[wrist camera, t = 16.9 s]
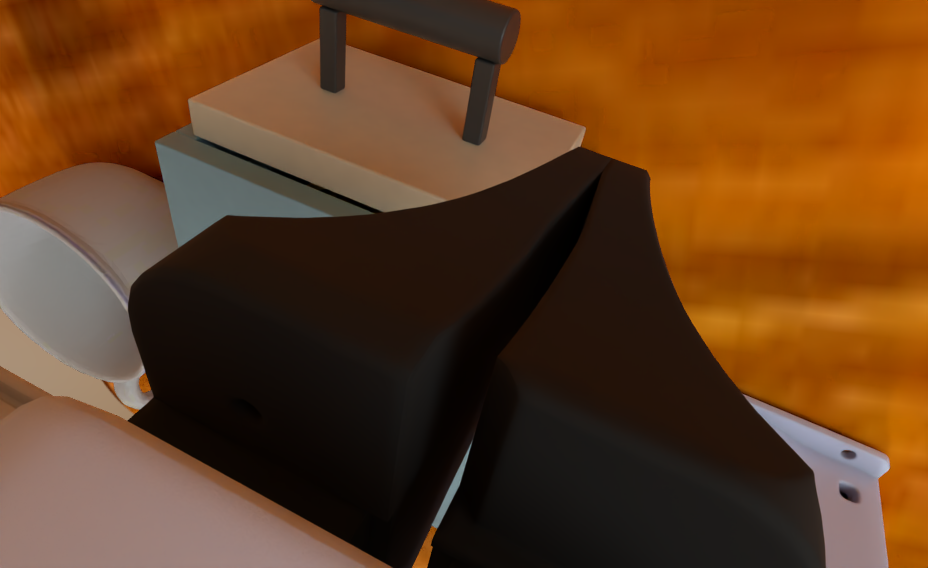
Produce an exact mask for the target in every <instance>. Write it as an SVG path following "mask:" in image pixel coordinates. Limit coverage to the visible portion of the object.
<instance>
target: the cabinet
mask: <svg viewBox="0 0 928 568" xmlns="http://www.w3.org/2000/svg"><path fill="white" fill-rule="evenodd" d="M155 146H156V150H157V155H158V159H159V164H160V168H161V173H162V177H163V181H164V186H165V190H166V195H167V199H168V204H169V208H170V213H171V217H172V222H173V226H174V231H175V235H176V240H177V244H178V248H179V247H181V246H182V245H183V244H185V243H186V242H188V241H189V240H191V239H192V238H194V237H195V236H196V235H198V234H199V233H201V232H202V231H204V230H205V229H207V228H208V227H209V226H211V225H212V224H214V223H215V222H217V221H218V220H220V219H221V218H223V217H225V216H226V215H235V216H258V217H292V218H313V217H339V216H354V215H366V214H375V213H372V212H370V211H367V210H365V209H362V208H360V207H358V206H355V205H353V204H350V203H348V202H345V201H343V200H341V199H338V198H336V197H333V196H331V195H328V194H326V193H323V192H321V191H319V190H316V189H314V188H311V187H309V186H306V185H304V184H301V183H299V182H297V181H294V180H292V179H289V178H287V177H284V176H282V175H280V174H277V173H275V172H272V171H270V170H267V169H265V168H262V167H260V166H258V165H255V164H253V163H250V162H249V161H250V160H252V158H249V157H247V156H244V155H242V154H239V153H237V152H234V151H232V150H229V149H227V148H225V147H222V146H220V145H217V144H215V143H212V142H210V141H207V140H205V139H202V138H200V137H198V136H195V135H194V133H193V128H192V123H191V124H189V125H187V126H185V127H183V128H181V129H179V130H177V131H176V132H172V133H170V134H168V135H166V136H164V137H162V138H160V139H158V140H156V141H155ZM472 441H473V440H472ZM471 444H472V443H471ZM470 448H471V445H470V447H469V449H468V451H467V453H466V455H465V457H464V459H463V461H462V463H461V465H460V467H459V469H458V471H457V473H456V476H455V478H454V480H453V482H452V484H451V486H450V488H449V490H448V492H447V494H446V496H445V498H444V501H443V503H442V505H441V507H440V509H439V511H438V513H437V515H436V517H435V520H434V522H433V524H432V526H434V527H436V528H438V526H439V524H440V522H441V521H442V519H443V517H444V515H445V513H446V511H447V509H448V507H449V505H450V503H451V501H452V499H453V497H454V495H455V493H456V491H457V489H458V487H459V485H460V482H461V478H462V475H463V471H464V468H465V465H466V461H467V458H468V454H469V451H470Z"/></svg>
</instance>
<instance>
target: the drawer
mask: <svg viewBox="0 0 928 568" xmlns="http://www.w3.org/2000/svg"><path fill="white" fill-rule="evenodd" d="M311 1H313V2H314V3H316V4H319V5H322V7H320V9H319V10H320V38H319V39H317V40H315V41H313V42H311V43H308V44H306V45H304V46H302V47H300V48H298V49H295V50H293V51H291V52H289V53H287V54H285V55H282V56H280V57H278V58H276V59H274V60H272V61H269V62H267V63H265V64H263V65H261V66H259V67H256V68H254V69H252V70H250V71H248V72H246V73H243V74H241V75H239V76H237V77H235V78H233V79H230V80H228V81H226V82H224V83H222V84H220V85H217V86H215V87H213V88H211V89H209V90H206V91H204V92H202V93H200V94H198V95H196V96H193V97H191V98H189V99H188V104H189V110H190V116H191V122H192V128H193V133H194V135H195V136H198V137H200V138H202V139H205V140H207V141H210V142H212V143H215V144H217V145H220V146H222V147H225V148H227V149H229V150H232V151H234V152H237V153H239V154H242V155H244V156H247V157H249V158H252V160H250V161H249V162H250V163H253V164H255V165H258V166H260V167H262V168H265V169H267V170H270V171H272V172H275V173H277V174H280V175H282V176H284V177H287V178H289V179H292V180H294V181H297V182H299V183H301V184H304V185H306V186H307V184H308V183H313V184H315V185H318V186H320V187H323V188H325V189H328V190H330V191H332V192H335V193H337V194H340V195H342V196H345V197H347V198H350V199H352V200H355V201H357V202H359V203H362V204H364V205H367V206H369V207H372V208H374V209H377V210H379V211H382V212H390V211H396V210H403V209H409V208H416V207H422V206H427V205H432V204H436V203H440V202H444V201H448V200H452V199H456V198H460V197H463V196H467V195H470V194H473V193H476V192H479V191H482V190H485V189H487V188H490V187H493V186H495V185H498V184H500V183H503V182H506V181H508V180H511V179H513V178H515V177H517V176H520V175H522V174H524V173H526V172H528V171H530V170H533V169H535V168H537V167H539V166H541V165H543V164H545V163H547V162H549V161H551V160H553V159H555V158H557V157H559V156H561V155H562V154H564V153H566V152H569V151H571V150H573V149H575V148H577V147H581V143H582V140H583V137H584V134H585V131H586V128H585V127H584V126H581V125H578V124H575V123H572V122H569V121H566V120H563V119H560V118H558V117H555V116H552V115H549V114H546V113H543V112H540V111H537V110H534V109H531V108H528V107H526V106H523V105H520V104H517V103H514V102H511V101H508V100H505V99H502V98H499V97H496V96H495V91H496V86H497V81H498V76H499V71H500V66H501V64H504V63H506V62H507V60H508V59H509V57H510V56H511V54H512V52H513V49H514V47H515V44H516V41H517V38H518V34H519V29H520V20H521V17H520V12H519V11H518V10H517V9H515V8H511V7H508V6H505V5H502V4H498V3H495V2H492V1H489V0H311ZM346 13H347V14H350V15H353V16H356V17H359V18H362V19H365V20H368V21H371V22H374V23H377V24H380V25H383V26H386V27H389V28H392V29H395V30H398V31H401V32H404V33H407V34H410V35H413V36H416V37H419V38H422V39H425V40H428V41H431V42H434V43H437V44H440V45H443V46H446V47H449V48H452V49H456V50H459V51H462V52H465V53H468V54H471V55H474V56H477V57H478V58H476V60H475V65H474V71H473V77H472V83H471V88H470V87H467V86H464V85H462V84H459V83H456V82H453V81H450V80H447V79H444V78H441V77H438V76H435V75H433V74H430V73H427V72H424V71H421V70H418V69H415V68H412V67H409V66H406V65H403V64H401V63H398V62H395V61H392V60H389V59H386V58H383V57H380V56H377V55H374V54H371V53H369V52H366V51H363V50H360V49H357V48H354V47H351V46H348V45H346Z"/></svg>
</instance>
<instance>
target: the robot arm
mask: <svg viewBox="0 0 928 568" xmlns="http://www.w3.org/2000/svg"><path fill="white" fill-rule="evenodd" d="M128 314H129V319H130V324H131V329H132V333H133V336H134V339H135V342H136V345H137V348H138V351H139V354H140V357H141V360H142V363H143V366H144V369H145V372H146V375H147V378H148V381H149V384H150V387H151V390H152V393H153V396H154V397H153V398H152V399H151V400H150V401H149V402H148V403H147V404H146V405H145V406H143V407H142V408H141V409H140V410H139V411H138V412H137V413H136V414H135V415H133V416H132V417H131V418H130V419H129V420H128V421H126V420H124V419H123V418H121V417H119V416H117V415H114V414H112V413H109V412H106V411H104V410H101V409H99V408H96V407H93V406H91V405H87V404H86V403H83V402H80V401H77V400H75V399H73V398H70V397H60V396H52V395H51V394H49V393H47V392H45V391H43V390H42V389H40V388H38V387H36V386H34V385H33V384H31V383H29V382H27V381H25V380H24V379H22V378H20V377H18V376H17V375H15V374H13V373H11V372H10V371H8V370H6V369H4V368H2V367H1V366H0V568H412V566H413V564H414V562H415V560H416V558H417V556H418V553H419V551H420V549H421V547H422V545H423V543H424V541H425V538H426V536H427V534H428V532H429V530H430V528H431V526H432V524H433V522H434V520H435V517H436V515H437V513H438V511H439V509H440V507H441V505H442V503H443V501H444V498H445V496H446V494H447V492H448V490H449V488H450V486H451V484H452V482H453V480H454V478H455V476H456V473H457V471H458V469H459V467H460V465H461V463H462V461H463V459H464V457H465V455H466V453H467V451H468V449H469V447H470V445H471V448H470V451H469V454H468V458H467V461H466V465H465V468H464V471H463V475H462V478H461V482H460V485H459V487H458V489H457V491H456V493H455V495H454V497H453V499H452V501H451V503H450V505H449V507H448V509H447V511H446V513H445V515H444V517H443V519H442V521H441V522H440V524H439V526H438V528H437V530H436V532H435V535H434V537H433V539H432V543H431V546H432V547H433V549H432V552H431V556H430V560H429V563H428V567H427V568H889V567H888V559H887V550H886V542H885V534H884V525H883V517H882V509H881V500H880V492H879V483H878V478H879V477H881V476H882V475H883V474H884V473H886V472H887V471H888V470H889V468H890V463H889V458H888V457H887V455H886V454H884V453H882V452H880V451H878V450H875V449H873V448H871V447H868V446H866V445H863V444H861V443H859V442H856V441H854V440H852V439H849V438H847V437H844V436H842V435H840V434H837V433H835V432H832V431H830V430H828V429H825V428H823V427H821V426H818V425H816V424H813V423H811V422H809V421H806V420H804V419H802V418H799V417H797V416H794V415H792V414H790V413H787V412H785V411H783V410H780V409H778V408H775V407H773V406H771V405H768V404H766V403H763V402H761V401H759V400H756V399H754V398H752V397H749V396H747V395H744V394H742V393H741V391H740V390H739V389H738V388H737V387H736V385H735V384H734V383H733V382H732V380H731V379H730V378H729V377H728V375H727V374H726V373H725V371H724V370H723V369H722V367H721V366H720V364H719V363H718V362H717V360H716V359H715V358H714V356H713V355H712V353H711V352H710V350H709V349H708V347H707V346H706V344H705V343H704V341H703V339H702V338H701V336H700V335H699V333H698V332H697V330H696V328H695V327H694V325H693V324H692V322H691V320H690V318H689V317H688V315H687V313H686V311H685V310H684V308H683V305H682V303H681V301H680V299H679V297H678V295H677V293H676V290H675V288H674V286H673V283H672V281H671V278H670V275H669V273H668V270H667V267H666V264H665V261H664V258H663V255H662V252H661V248H660V245H659V241H658V237H657V233H656V228H655V224H654V220H653V214H652V208H651V200H650V177H649V174H648V172H647V170H644V169H641V168H638V167H635V166H632V165H630V164H627V163H624V162H621V161H618V160H615V159H612V158H610V157H607V156H604V155H601V154H598V153H595V152H593V151H590V150H587V149H584V148H581V147H577V148H575V149H573V150H571V151H569V152H566V153H564V154H562V155H561V156H559V157H557V158H555V159H553V160H551V161H549V162H547V163H545V164H543V165H541V166H539V167H537V168H535V169H533V170H530V171H528V172H526V173H524V174H522V175H520V176H517V177H515V178H513V179H511V180H508V181H506V182H503V183H500V184H498V185H495V186H493V187H490V188H487V189H485V190H482V191H479V192H476V193H473V194H470V195H467V196H463V197H460V198H456V199H452V200H448V201H444V202H440V203H436V204H432V205H427V206H422V207H416V208H409V209H403V210H396V211H390V212H383V213H376V214H366V215H354V216H339V217H313V218H292V217H258V216H235V215H226V216H225V217H223V218H221V219H220V220H218V221H217V222H215V223H214V224H212V225H211V226H209V227H208V228H207V229H205V230H204V231H202V232H201V233H199V234H198V235H196V236H195V237H194V238H192V239H191V240H189V241H188V242H186V243H185V244H183V245H182V246H181V247H179V248H178V249H176V250H175V251H173V252H172V253H170V254H169V255H168V256H166V257H165V258H163V259H162V260H160V261H159V262H157V263H156V264H155V265H153V266H152V267H150V268H149V269H147V270H146V271H144V272H143V273H142V274H141V275H140V276H139V277H138V278H137V280H136V281H135V282H134V283H133V284H132V285H131V289H130V295H129V300H128ZM472 440H473V441H472ZM471 443H472V444H471ZM844 450H850V451H848V452H847V451H844Z"/></svg>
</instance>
